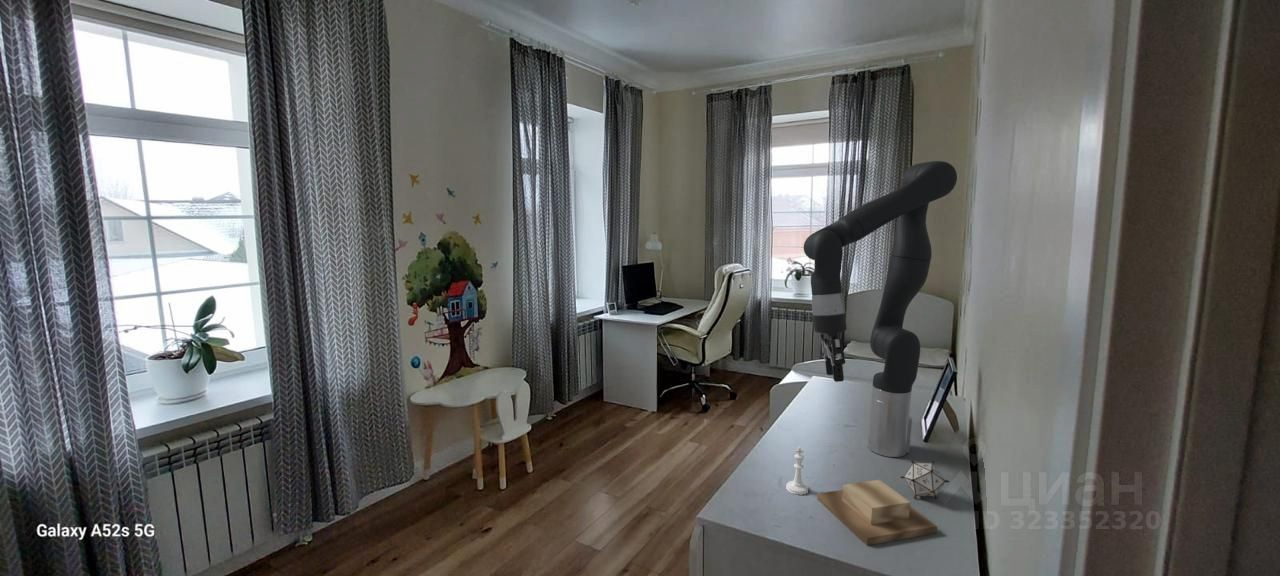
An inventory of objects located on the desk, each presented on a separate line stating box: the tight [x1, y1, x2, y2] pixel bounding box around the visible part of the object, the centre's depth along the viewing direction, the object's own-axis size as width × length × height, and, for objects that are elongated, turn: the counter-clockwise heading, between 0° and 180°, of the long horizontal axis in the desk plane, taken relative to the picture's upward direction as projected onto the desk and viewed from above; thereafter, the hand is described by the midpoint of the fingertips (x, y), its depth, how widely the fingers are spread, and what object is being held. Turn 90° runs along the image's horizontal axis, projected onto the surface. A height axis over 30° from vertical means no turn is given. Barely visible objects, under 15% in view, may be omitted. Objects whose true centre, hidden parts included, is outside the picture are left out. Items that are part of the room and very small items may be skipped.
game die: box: [900, 459, 950, 500], centre depth 115 cm, size 9×8×10 cm
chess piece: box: [785, 447, 809, 496], centre depth 117 cm, size 5×5×10 cm
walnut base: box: [817, 479, 938, 546], centre depth 107 cm, size 16×16×5 cm
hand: (834, 377), depth 127 cm, fingers open, 8 cm apart
